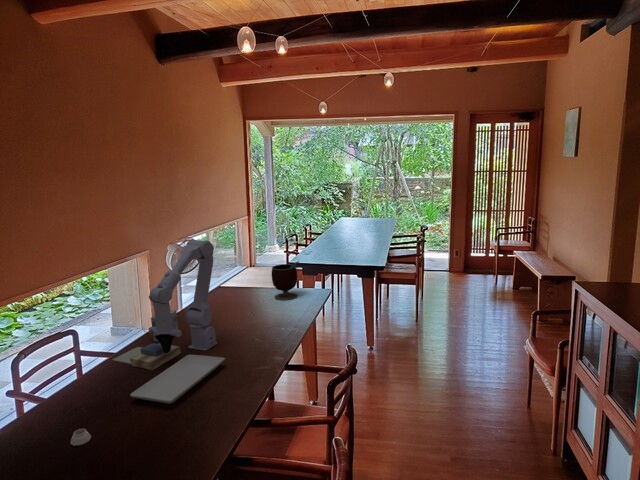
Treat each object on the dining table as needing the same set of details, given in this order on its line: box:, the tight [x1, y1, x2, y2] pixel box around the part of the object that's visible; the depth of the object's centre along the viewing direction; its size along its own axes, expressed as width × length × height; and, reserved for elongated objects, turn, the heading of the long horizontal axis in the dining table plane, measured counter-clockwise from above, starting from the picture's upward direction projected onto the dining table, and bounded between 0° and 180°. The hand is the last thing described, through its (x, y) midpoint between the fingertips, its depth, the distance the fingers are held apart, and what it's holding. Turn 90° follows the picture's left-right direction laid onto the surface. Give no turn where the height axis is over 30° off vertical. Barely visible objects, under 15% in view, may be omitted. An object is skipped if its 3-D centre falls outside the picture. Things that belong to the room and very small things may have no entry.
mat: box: [111, 346, 143, 365], centre depth 182 cm, size 11×13×1 cm
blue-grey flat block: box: [141, 342, 164, 357], centre depth 177 cm, size 8×6×2 cm
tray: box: [129, 354, 226, 405], centre depth 157 cm, size 17×32×4 cm, turn 159°
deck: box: [130, 342, 182, 371], centre depth 177 cm, size 11×15×3 cm
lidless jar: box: [70, 428, 92, 446], centre depth 127 cm, size 5×3×5 cm
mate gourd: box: [271, 260, 300, 302], centre depth 247 cm, size 16×14×20 cm
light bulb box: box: [150, 309, 179, 342], centre depth 200 cm, size 11×7×11 cm, turn 168°
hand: (167, 352), depth 174 cm, fingers closed
